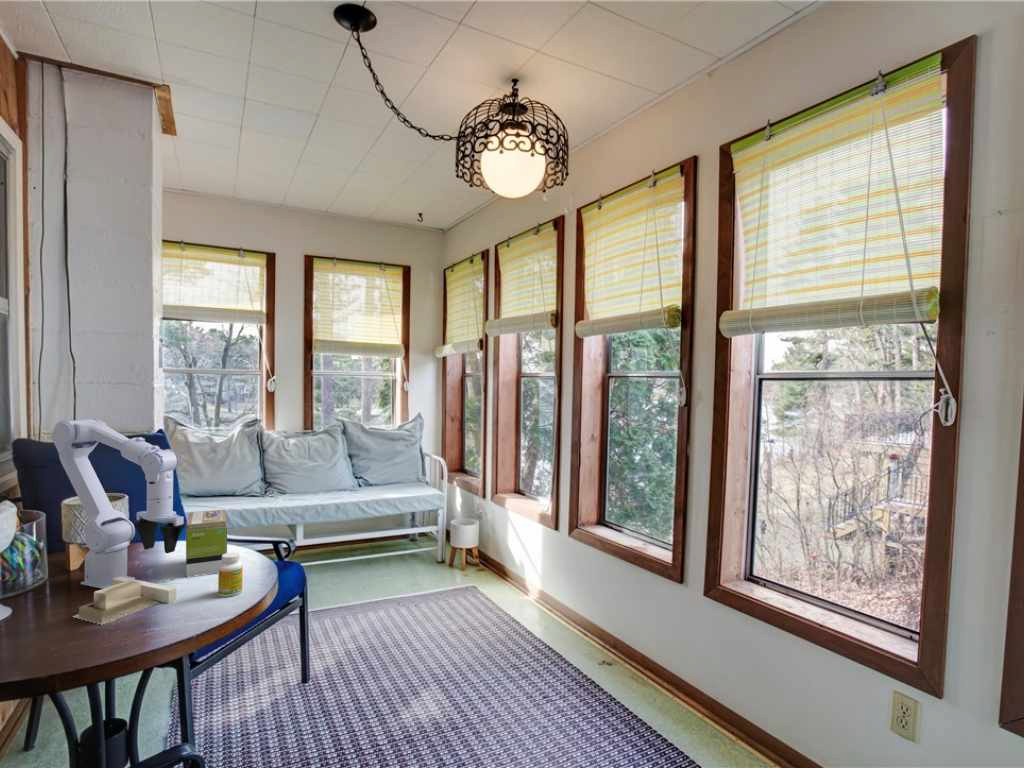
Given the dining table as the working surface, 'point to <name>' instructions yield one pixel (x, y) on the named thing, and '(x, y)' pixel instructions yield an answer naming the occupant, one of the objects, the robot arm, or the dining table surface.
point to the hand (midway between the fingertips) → (159, 550)
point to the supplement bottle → (230, 575)
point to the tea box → (205, 541)
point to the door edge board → (152, 589)
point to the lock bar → (116, 594)
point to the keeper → (115, 610)
